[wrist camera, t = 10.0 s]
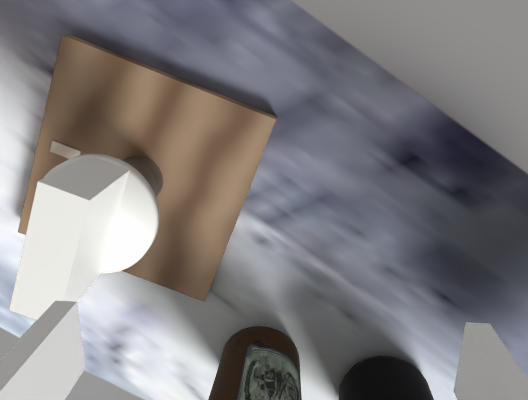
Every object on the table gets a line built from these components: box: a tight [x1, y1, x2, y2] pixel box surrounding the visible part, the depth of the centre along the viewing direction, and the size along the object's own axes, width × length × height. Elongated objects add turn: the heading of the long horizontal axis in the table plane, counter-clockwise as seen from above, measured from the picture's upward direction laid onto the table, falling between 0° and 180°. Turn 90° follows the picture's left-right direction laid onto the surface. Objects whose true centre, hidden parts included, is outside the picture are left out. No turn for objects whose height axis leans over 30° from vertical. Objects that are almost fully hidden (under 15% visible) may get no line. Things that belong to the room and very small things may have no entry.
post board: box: [18, 35, 277, 301], centre depth 46 cm, size 22×22×12 cm
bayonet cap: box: [10, 154, 160, 320], centre depth 36 cm, size 12×10×9 cm
